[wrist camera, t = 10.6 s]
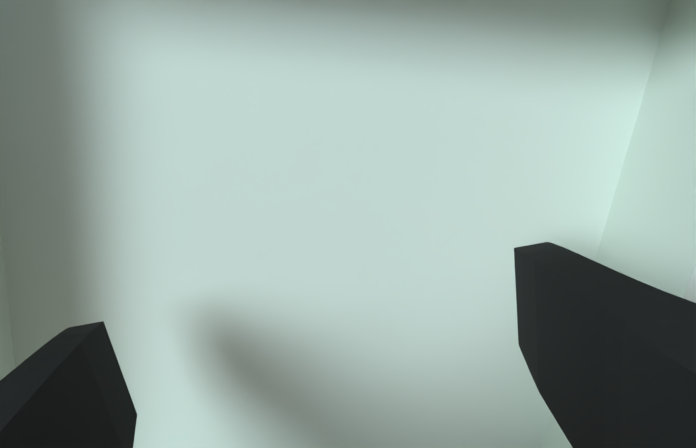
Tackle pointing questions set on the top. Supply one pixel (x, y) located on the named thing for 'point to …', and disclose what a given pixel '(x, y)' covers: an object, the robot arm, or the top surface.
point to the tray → (333, 201)
